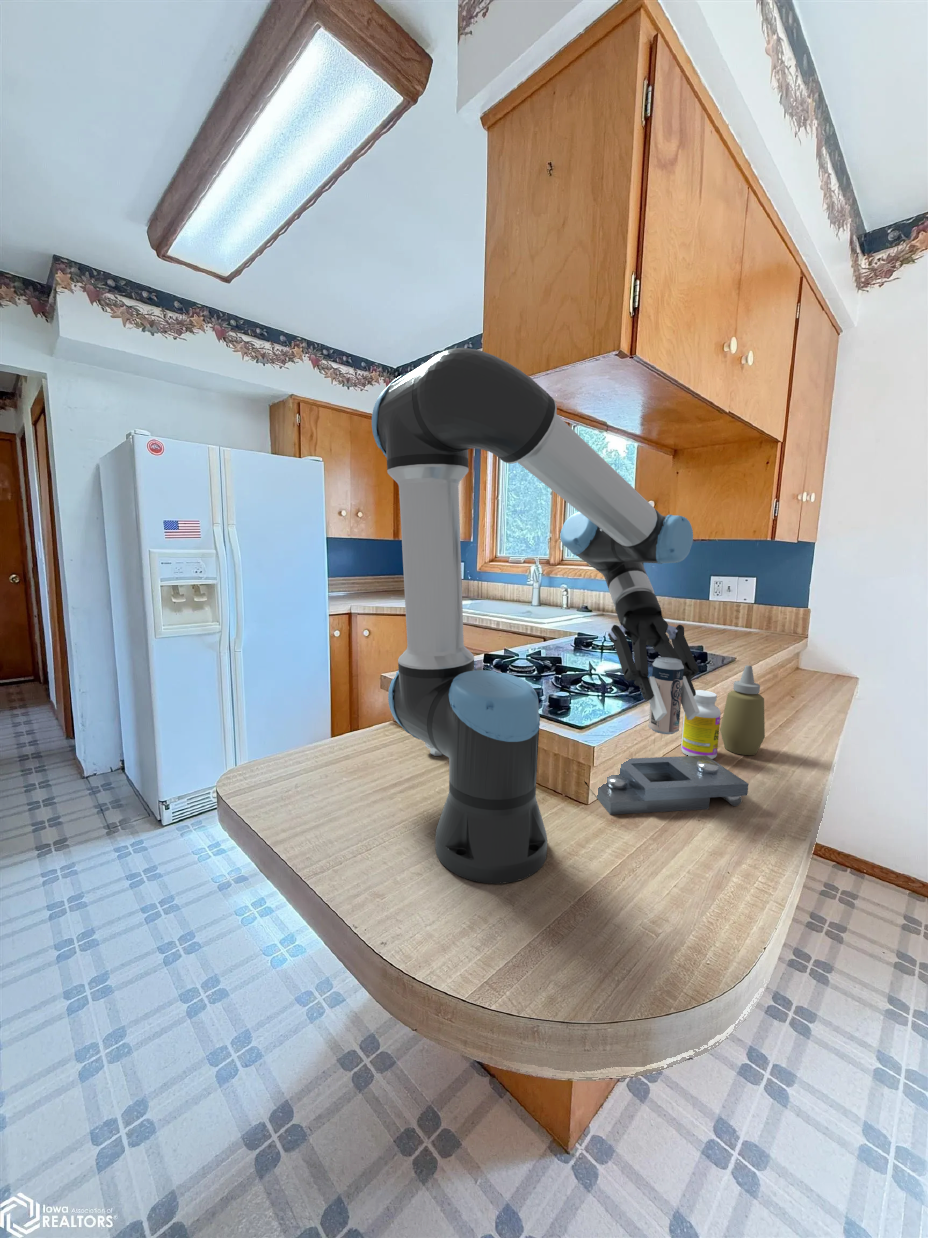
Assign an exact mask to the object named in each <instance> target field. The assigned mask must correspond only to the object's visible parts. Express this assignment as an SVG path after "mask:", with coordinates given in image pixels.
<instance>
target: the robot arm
mask: <svg viewBox="0 0 928 1238" xmlns="http://www.w3.org/2000/svg"><path fill="white" fill-rule="evenodd" d="M556 402H557V401H555V399H554V398H553V397H552V396H551V394H549V393H548V392H547V391H546V390H545V389H544V388H543V387H542V386H540V385H539V384H538V383H537V382H536V381H535V380H534V379H533V378H532V377H530V376H528V375H527V374H526V373H525V372H523V371H522V370H521V369H519V368H517V367H516V366H515V365H512V364H511V363H509V362H508V361H505V360H504V359H502V358H500V357H498V356H496V355H493V354H490V353H488V352H486V351H483V350H479V349H474V348H470V347H469V348H468V347H458V348H457V347H456V348H450V349H447V350H444V351H441V352H439V353H438V354H435V355H434V356H432V358H430V359H429V360H428V361H426V362H424V363H423V364H421V365H420V366H418V367H416V368H415V369H413V370H412V371H410V372H407V373H403V374H401V375H400V376H398V377H397V378H395V379H393V380H392V381H391V382H390V383H389V384H388V385H387V387H385V388H384V390H382V392H381V393H380V394H379V396H378V397H377V398H376V401H375V403H374V405H373V409H372V413H371V430H372V435H373V438H374V442H375V444H376V446H377V447H378V449H380V450H381V452H382V453H383V456H384V457H385V458H386V468H387V469H386V472H387V474H388V475H389V476H390V478H392V479H393V480H394V481H395V482H396V483H397V485H398V491H399V493H398V494H399V509H400V511H399V512H400V530H401V546H402V547H401V550H402V567H403V585H404V586H403V587H404V588H403V590H404V606H405V624H406V625H405V626H406V627H405V628H406V641H407V642H406V643H407V644H406V646H407V647H406V649H405V650H404V651H403V653H402V654H401V655H399V657H398V659H397V665H398V666H397V667H398V669H397V671H396V673H395V676H394V678H392V679H391V682H390V683H389V687H388V694H387V697H388V699H387V700H388V707H389V710H390V712H391V715H392V717H393V719H394V720H395V721H396V723H397V724H398V725H399V726H400V727H402V729H403V730H404V731H405V732H406V733H407V734H409V735H411V736H412V737H413V738H415V739H418V740H420V741H423V743H424V744H425V743H427V744H428V745H430V746H431V747H433V748H435V749H436V750H438V751H439V752H441V753H442V754H443V755H444V756H445V757H447V758H448V759H449V760H448V761H449V763H448V765H449V767H448V768H449V769H448V770H449V771H448V772H449V773H448V775H449V776H448V779H449V780H448V785H449V786H448V794H447V797H446V800H445V802H444V806H443V809H442V811H441V813H440V817H439V820H438V822H437V826H436V828H435V829H436V830H435V842H434V843H435V853H436V856H437V858H438V860H439V861H440V863H441V864H442V865H443V866H444V867H445V868H446V869H447V870H448V871H450V872H451V873H454V875H457V876H459V877H460V878H463V879H466V880H469V881H473V882H476V883H477V882H478V883H482V884H483V883H484V884H507V883H513V882H517V881H521V880H524V879H526V878H528V877H530V876H533V874H535V873H537V872H538V871H539V870H540V869H541V868H542V867H543V865H544V864H545V862H546V859H547V855H548V854H547V853H548V835H547V830H546V827H545V824H544V819H543V816H542V814H541V810H540V806H539V803H538V801H537V797H536V795H537V794H536V793H537V775H538V774H537V773H538V756H539V741H540V739H539V738H540V725H541V724H540V723H541V717H540V712H539V711H540V709H539V697H538V693H537V691H536V690H535V689H534V688H533V686H532V685H531V684H529V683H528V682H527V680H524V679H522V678H520V677H518V676H516V675H513V674H509V673H507V672H496V671H495V670H486V669H485V670H484V669H480V670H479V669H477V670H475V656H474V653H472V651H470V649H468V648H467V647H466V646H465V643H464V642H465V641H464V637H465V636H464V615H463V613H464V611H463V585H462V584H463V583H462V554H461V553H462V552H461V549H462V548H461V523H460V521H461V520H460V497H459V496H460V495H459V494H460V493H459V492H460V490H459V485H460V482H461V481H462V480H463V479H464V478H465V477H466V475H467V474H468V473H469V450H470V449H477V450H483V451H486V452H489V453H491V454H493V455H494V456H496V457H498V458H499V459H500V460H501V461H502V462H504V463H506V464H508V465H509V464H517V463H518V464H519V465H520V466H522V468H524V469H525V470H526V471H528V472H529V473H530V474H531V475H532V476H533V477H535V478H536V479H537V480H539V481H540V482H542V483H543V484H544V485H545V486H546V487H548V488H549V489H550V490H551V491H553V492H554V493H555V494H556V495H558V497H560V498H561V499H562V500H563V501H565V502H566V503H568V504H569V505H570V506H571V507H573V508H574V509H575V510H576V512H574V513H573V514H571V515H570V516H569V517H568V518H567V519H566V520H565V521H564V523H563V525H562V528H561V530H560V535H559V537H560V541H561V543H562V545H563V546H564V547H565V548H566V549H567V550H569V551H570V552H571V554H573V555H574V556H576V557H577V558H579V559H581V561H584V562H585V563H586V564H588V565H589V566H590V567H592V568H593V569H594V570H595V571H597V572H598V573H600V574H602V576H603V577H604V580H605V584H606V585H607V588H608V589H607V590H608V591H609V594H610V597H611V600H612V603H613V606H614V607H615V608H614V609H615V613H616V615H617V618H618V619H617V620H618V621H619V624H620V625H619V626H618V625H617V624H613V625H612V626H611V628H610V630H609V632H608V634H607V636H608V638H609V639H610V640H611V642H612V643H613V646H614V648H615V652H616V654H617V658H618V660H619V664H620V667H621V671H622V674H623V677H624V679H625V680H626V681H634V682H633V683H634V685H635V686H636V687H639V689H640V692H641V695H642V698H643V699H644V700H645V701H648V703H649V707H650V706H651V709H652V712H653V715H654V718H655V721H660V720H661V719H662V718H663V717H664V716H665V715H666V714H667V711H666V708H665V705H664V703H663V700H662V697H661V694H660V691H659V689H658V686H657V683H656V680H655V677H652V676H649V663H648V662H649V661H648V653H647V652H648V651H647V646H650V647H652V648H653V650H654V651H655V652H657V653H658V654H659V657H669V658H676V659H679V660H681V662H682V665H683V666H684V671H683V684H682V697H681V708H682V709H683V713H684V712H685V715H686V717H687V720H692V719H693V718H694V717H695V716H696V715H697V714H698V713H699V712H700V711H699V708H698V706H697V704H696V701H695V699H694V696H695V695H696V691H695V690H696V688H695V687H694V684H693V682H692V679H693V678H694V677H695V676H696V675H697V674H698V673H699V667H698V665H697V663H696V660H695V656H694V655H693V652H692V651H691V648H690V645H689V644H688V641H687V639H686V636H685V626H683V625H681V624H678V625H677V626H673V625H669V622H667V620H665V618H664V617H663V612H662V608H661V605H660V603H659V601H658V598H657V596H656V594H655V590H654V588H653V585H652V583H651V580H650V578H649V576H648V574H647V572H646V569H645V566H644V564H658V565H662V564H675V563H676V564H677V563H680V562H682V561H684V560H685V559H686V558H687V557H688V556H689V554H690V552H691V548H692V546H693V544H694V543H693V542H694V529H693V527H692V523H691V522H690V521H689V519H688V518H687V517H685V516H683V515H673V514H667V515H663V514H661V513H660V512H659V511H658V510H657V509H655V507H654V506H653V505H652V504H651V503H650V502H649V501H648V500H647V499H645V498H644V497H643V496H642V495H641V493H639V492H638V491H637V490H636V489H635V488H634V487H633V486H632V485H631V484H630V483H629V482H628V481H627V480H626V479H625V478H624V477H623V476H622V475H620V474H619V473H618V471H616V470H615V469H614V468H613V466H611V465H610V464H609V463H608V462H607V461H606V460H605V459H604V458H603V457H602V456H601V455H600V454H599V453H597V451H596V450H595V449H593V448H592V447H591V446H590V444H588V443H587V441H585V440H584V438H582V437H581V436H580V435H579V434H578V433H577V432H576V431H575V430H574V429H573V428H572V427H571V426H570V425H569V424H568V423H567V422H566V421H565V420H563V419H562V418H561V417H560V415H558V414H557V412H558V411H557V409H558V407H557V403H556ZM627 637H628V638H629V640H631V647H632V648H631V649H632V651H633V655H632V652H631V649H630V646H629V642H628V640H627ZM670 640H671V643H670Z"/></svg>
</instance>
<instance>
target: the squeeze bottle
mask: <svg viewBox="0 0 928 1238" xmlns="http://www.w3.org/2000/svg"><path fill="white" fill-rule="evenodd" d="M753 670H754V669H753V666H752V665H744V669H743V671H742V674H741V677H740V679H739V680H735V681H734V682H733V690H731V691H729V692H728V693H727V694H726V695H727V696H726V700H725V704H724V705H725V706H724V710H723V715H722V718H721V722H720V727H719V733H720V736H721V739H722V743H723V746H724V748H725V750H727V751H728V752H731V753H734V754H736V755H737V754H738V755H743V756H754V755H756V754H757V753H758V751H759V749H760V747H761V745H762V743H763V741H764V739H765V738H766V737H765V736H766V735H765V733H766V732H765V730H766V729H765V697H763V696H762V695H761V694H760V691H761V685H760V684H759V683H757V682H755V678H754V671H753Z"/></svg>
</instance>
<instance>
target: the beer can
mask: <svg viewBox="0 0 928 1238" xmlns="http://www.w3.org/2000/svg"><path fill="white" fill-rule="evenodd" d="M683 671H684V666H683V665H682V662H681V660H679V659H676V658H669V657H661V656H659V657H656V658H655V660H654V661H653V662H652V673H651V677H655V680H656V683H657V686H658V689H659V691H660V694H661V697H662V700H663V703H664V705H665V708H666V711H667V714H666V715H665V716H664V717H663V718H662V719H661V720H660V721H655V718H654V715H653V712H652V709H651V706H650V705H649V714H648V715H649V716H648V725H647V727H648V728H649V729H651V730H652V731H653V732H654V733H658V734H661V735H673V734H675V733H677V732H679V731H680V723H681V721H680V720H681V710H682V709H681V708H682V704H681V697H682V684H683Z"/></svg>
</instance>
